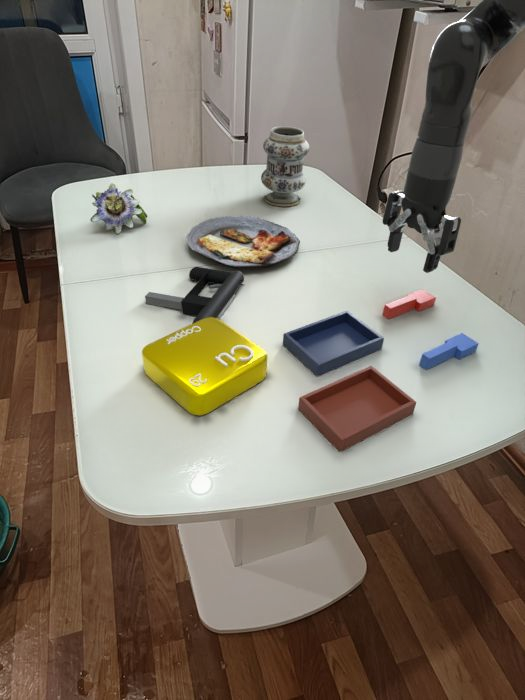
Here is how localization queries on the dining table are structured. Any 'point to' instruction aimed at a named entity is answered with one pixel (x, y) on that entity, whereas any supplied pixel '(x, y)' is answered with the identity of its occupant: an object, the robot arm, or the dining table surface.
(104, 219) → the passion flower
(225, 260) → the food plate
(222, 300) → the door handle
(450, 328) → the dining table surface
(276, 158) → the apothecary jar
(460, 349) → the blue stepped block
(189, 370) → the element tile
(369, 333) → the navy tray
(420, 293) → the red stepped block
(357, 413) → the rust tray
